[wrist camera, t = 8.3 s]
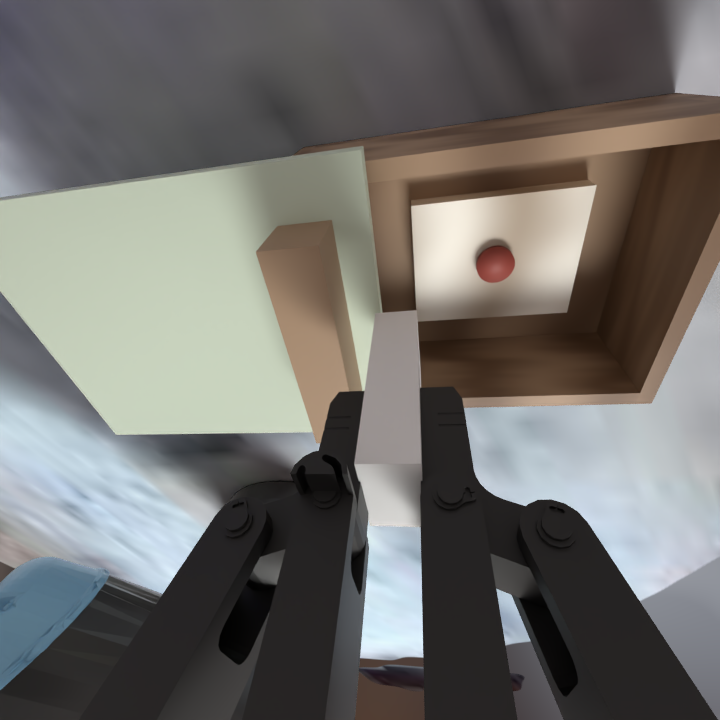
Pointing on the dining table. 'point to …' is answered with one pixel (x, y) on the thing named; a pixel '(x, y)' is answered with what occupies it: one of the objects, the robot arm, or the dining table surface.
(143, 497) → the dining table surface
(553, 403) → the box
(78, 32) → the dining table surface
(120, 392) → the lid
